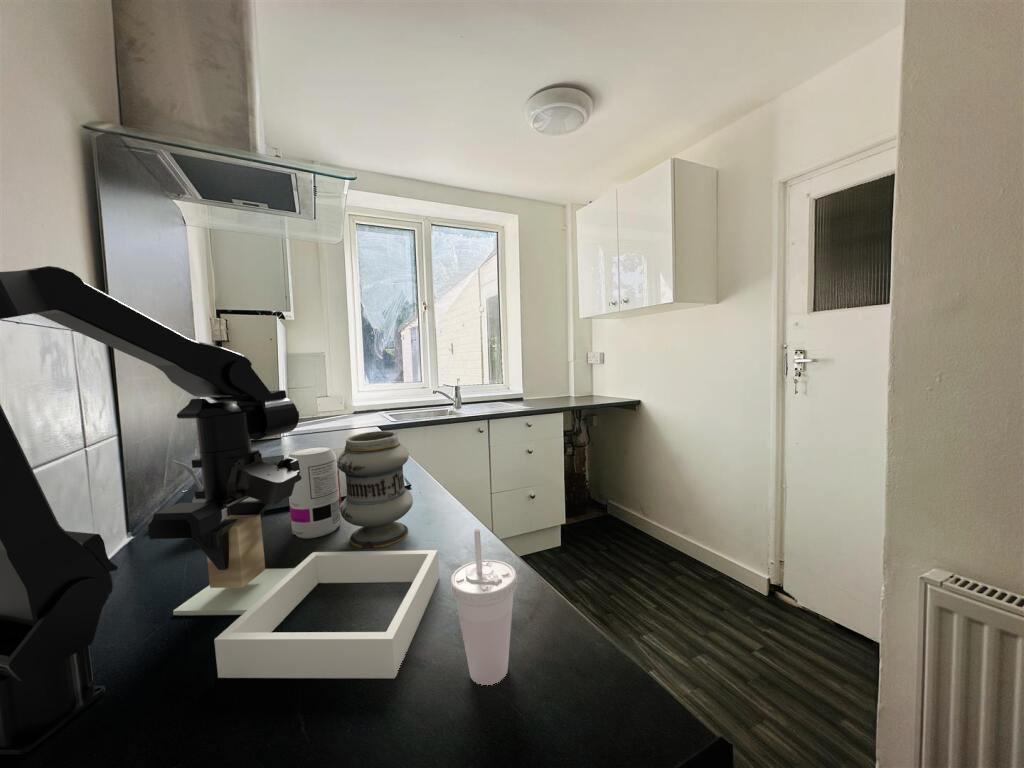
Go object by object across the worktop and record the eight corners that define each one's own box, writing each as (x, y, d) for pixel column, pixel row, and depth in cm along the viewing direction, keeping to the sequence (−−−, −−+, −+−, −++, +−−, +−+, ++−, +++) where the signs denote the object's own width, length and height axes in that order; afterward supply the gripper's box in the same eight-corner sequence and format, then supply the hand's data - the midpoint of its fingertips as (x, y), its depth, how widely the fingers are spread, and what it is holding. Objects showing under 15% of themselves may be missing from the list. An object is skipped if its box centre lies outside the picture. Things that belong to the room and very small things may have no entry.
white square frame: (395, 678, 40) (392, 638, 40) (218, 677, 41) (214, 639, 41) (439, 577, 58) (437, 550, 58) (315, 579, 59) (312, 552, 59)
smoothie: (487, 639, 45) (480, 513, 44) (534, 665, 41) (528, 527, 40) (441, 676, 40) (433, 535, 39) (491, 710, 36) (482, 554, 35)
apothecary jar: (331, 554, 66) (322, 444, 65) (356, 524, 78) (349, 430, 77) (406, 549, 67) (399, 440, 66) (420, 520, 79) (414, 427, 78)
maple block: (242, 587, 54) (237, 528, 53) (210, 587, 54) (204, 528, 54) (265, 569, 58) (260, 514, 58) (235, 570, 59) (229, 515, 58)
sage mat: (249, 614, 51) (249, 610, 51) (173, 615, 52) (173, 610, 52) (296, 572, 61) (296, 568, 61) (232, 573, 62) (231, 569, 62)
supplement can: (287, 543, 71) (280, 458, 70) (298, 524, 79) (291, 448, 78) (337, 535, 74) (331, 452, 73) (343, 518, 82) (337, 443, 80)
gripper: (232, 464, 45) (244, 600, 46) (320, 432, 64) (328, 530, 65) (136, 467, 46) (151, 601, 47) (251, 434, 65) (260, 531, 66)
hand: (236, 560), depth 56 cm, fingers closed on maple block, 4 cm apart
